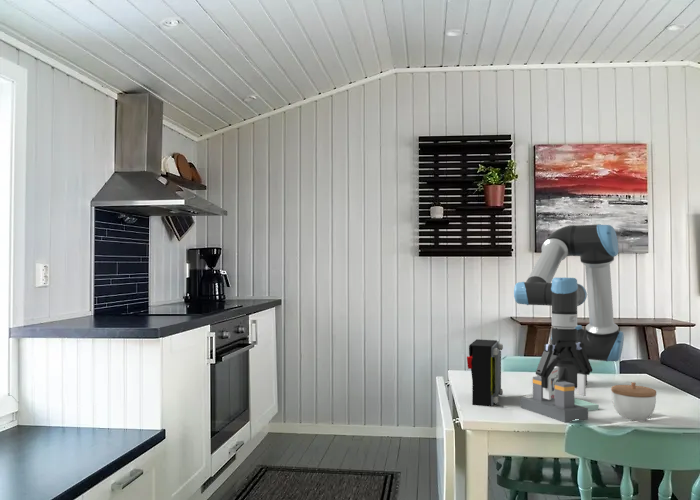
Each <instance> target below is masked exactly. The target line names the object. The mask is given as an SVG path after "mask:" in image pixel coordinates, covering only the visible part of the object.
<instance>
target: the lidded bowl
mask: <svg viewBox="0 0 700 500" xmlns="http://www.w3.org/2000/svg"><path fill="white" fill-rule="evenodd" d="M610 388H611V389H610V390H611V400H612V404H613V405H612V406H613V408H614V410H615V412H616V413H617V414H618V415H619V416H620V417H622V418H624V419H628V420H629V419H630V421H631V422H646V421H647V420H648V419H649V417H651V415H652V414H653V413H654V411H655V410H656V409H655V408H656V402H657V390H655V388H651V387H647V386H643V385H637V384H636V382H635V381H633V382H631V384H616V385H612V386H611V387H610Z"/></svg>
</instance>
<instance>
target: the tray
mask: <svg viewBox="0 0 700 500" xmlns="http://www.w3.org/2000/svg"><path fill="white" fill-rule="evenodd" d="M574 404H575V405H578V406H582V407H585V408H588V412H589V411H596V410H600V409H599V408H600V405H599V404H598V403H594V402H590V401H587V400H583V399H580V398H578V397H574Z"/></svg>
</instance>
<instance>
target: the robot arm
mask: <svg viewBox="0 0 700 500" xmlns="http://www.w3.org/2000/svg"><path fill="white" fill-rule="evenodd" d="M618 255H619V242H618V237H617V232H616V229H615V228H614V227H613V226H612V225H610V224H599V223H598V224H580V225H578V224H577V225H575V224H572V225H566V226H565V225H564V226H563V227H561V228H558V229H556V230H555V231H553V232H552V233H551V234H549V235H548V236H547V238H546V239H544V241H543V243H542V245H541V253H540V254H539V257H538V259H537V260H536V262H535V264H534V266H533V268H532V270H531V272H530V273H529V276H528V277H527V279H526V281H519V282H516V283H515V285H514V288H513V297H514V301H515V303H516V304H519V305H526V306H550V307H551V326H552V327H551V333H550V335H551V337H550V343H545V344H544V346H543V352H542V354H541V356H540V357H541V358H540V360H539V362H538V364H537V365H538V366H537V368H536V370H535V375H539V376H541V382H542V383H541V386H542V388H543V398H545V399H548V400H551V378H550V377H549V375H550V374H551V372H552V371H553V369H554V367H555V366H556V367H558V382H564V381H565V382H569V383H573V384H574V386H575V388H576V389H577V391H576V392H577V395H578V396H581V397H586V394H587V393H586V392H587V391H586V389H587V387H586V386H588V378H587V377H588V376H589V375H590V374H591V373H592V372H593V368H592V364H591V362H590V360H591V361H592V360H593V361H600V362H602V361H603V362H617V361H620V359H621V356H622V352H623V346H624V338H625V334H624V332H623V331H621V330H619V326H618V325H617V323H616V322H615V321H614V307H613V294H612V293H613V292H612V291H613V290H612V289H613V288H612V277H611V275H612V274H611V264H612V263H613V262H614V260H615V257H617V256H618ZM567 257H580V262H581V263H582V264H583V265H584V266H585V267H584V270H585V281H586V288H585V287H584V286H583V285H582V284H580V283H578V279H577V278H576V277H555V275H556V273H557V270H558V268H559V266H560V265H561V262H562V261H564V260H565V259H566V258H567ZM586 299H587V306H588V318H589V319H588V320H589V323H588V324H586V326H585V328H583V326H582V325H581V324H578V307H579V306H581V305H582V304H583V303H585V301H586Z"/></svg>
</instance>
